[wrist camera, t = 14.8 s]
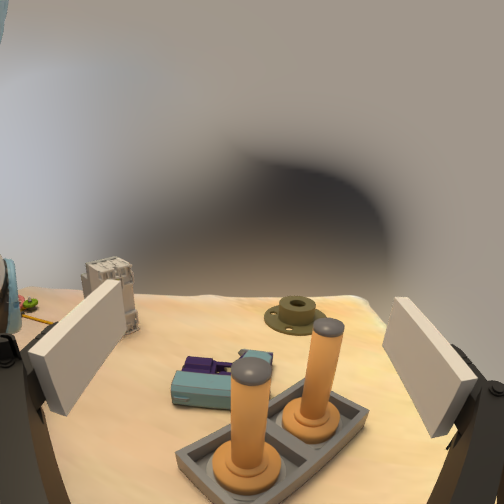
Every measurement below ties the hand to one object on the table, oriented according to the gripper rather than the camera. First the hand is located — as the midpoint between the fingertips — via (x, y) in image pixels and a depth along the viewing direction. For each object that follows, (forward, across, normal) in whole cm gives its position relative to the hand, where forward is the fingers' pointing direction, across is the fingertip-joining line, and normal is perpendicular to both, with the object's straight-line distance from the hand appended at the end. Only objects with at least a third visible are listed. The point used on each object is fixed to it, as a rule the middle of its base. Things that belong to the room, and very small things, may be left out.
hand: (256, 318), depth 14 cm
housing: (+14, +4, -28) cm, 32 cm away
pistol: (+29, -4, -29) cm, 41 cm away
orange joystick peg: (+10, 0, -27) cm, 29 cm away
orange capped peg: (+18, +9, -27) cm, 34 cm away
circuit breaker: (+44, -33, -29) cm, 63 cm away
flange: (+53, +10, -29) cm, 61 cm away
